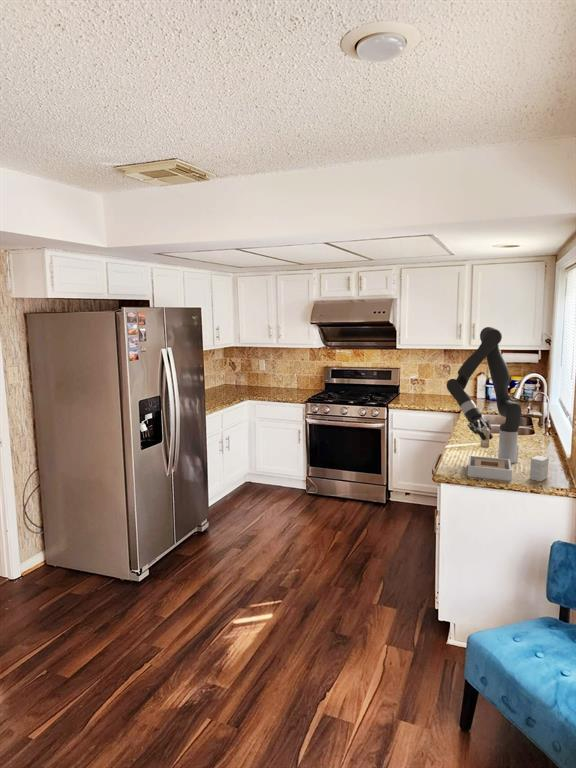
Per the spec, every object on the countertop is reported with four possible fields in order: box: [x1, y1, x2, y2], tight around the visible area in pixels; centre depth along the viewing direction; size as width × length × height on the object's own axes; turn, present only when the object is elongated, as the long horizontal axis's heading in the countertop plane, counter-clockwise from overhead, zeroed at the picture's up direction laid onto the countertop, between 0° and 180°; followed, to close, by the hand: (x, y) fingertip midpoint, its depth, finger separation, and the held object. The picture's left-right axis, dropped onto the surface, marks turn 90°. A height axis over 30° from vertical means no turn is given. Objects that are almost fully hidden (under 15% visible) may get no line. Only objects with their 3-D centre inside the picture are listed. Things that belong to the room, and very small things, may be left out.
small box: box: [529, 455, 549, 482], centre depth 253 cm, size 8×6×10 cm
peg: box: [479, 428, 491, 449], centre depth 262 cm, size 4×4×9 cm
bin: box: [466, 455, 513, 482], centre depth 262 cm, size 20×20×6 cm
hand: (488, 438), depth 260 cm, fingers closed on peg, 4 cm apart
